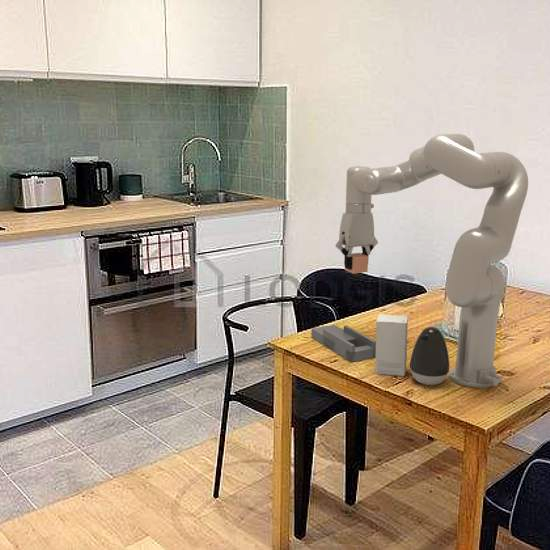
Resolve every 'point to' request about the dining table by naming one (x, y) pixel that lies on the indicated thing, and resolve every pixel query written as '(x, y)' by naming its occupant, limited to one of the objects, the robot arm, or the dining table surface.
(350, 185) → the robot arm
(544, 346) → the dining table surface
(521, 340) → the dining table surface
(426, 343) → the egg-shaped speaker
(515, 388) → the dining table surface
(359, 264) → the block
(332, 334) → the trough
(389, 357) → the skincare box
